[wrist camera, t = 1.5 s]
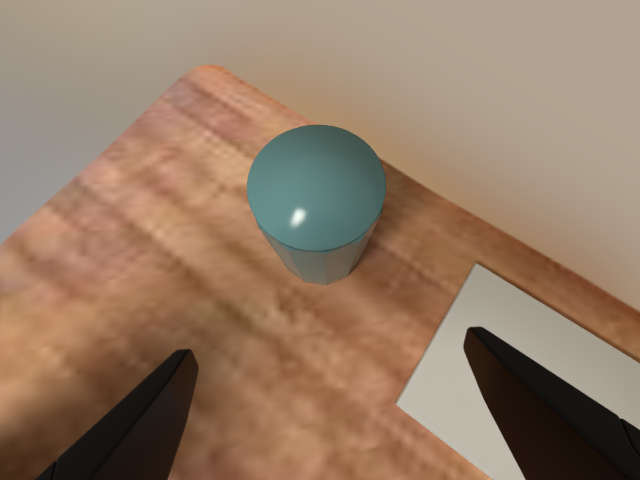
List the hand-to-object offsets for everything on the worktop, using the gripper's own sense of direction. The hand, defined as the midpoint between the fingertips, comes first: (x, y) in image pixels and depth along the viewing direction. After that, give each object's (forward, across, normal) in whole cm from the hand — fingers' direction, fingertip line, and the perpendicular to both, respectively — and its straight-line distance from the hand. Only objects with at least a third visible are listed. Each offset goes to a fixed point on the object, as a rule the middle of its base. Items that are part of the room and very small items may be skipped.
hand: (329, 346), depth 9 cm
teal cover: (+15, 0, +4) cm, 16 cm away
